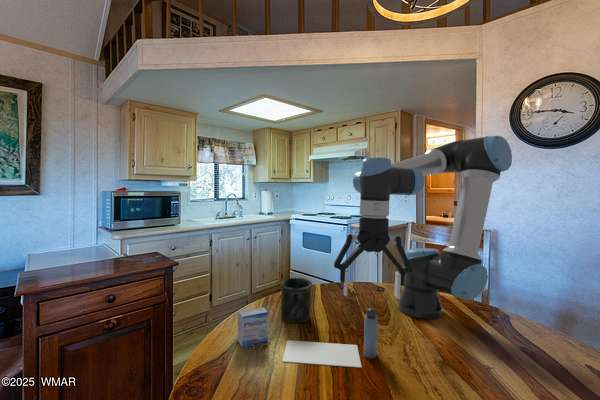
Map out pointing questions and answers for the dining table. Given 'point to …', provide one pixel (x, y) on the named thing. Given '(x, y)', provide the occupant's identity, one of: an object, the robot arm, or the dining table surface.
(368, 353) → the marker
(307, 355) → the paper
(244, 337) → the medicine box
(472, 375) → the dining table surface
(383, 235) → the robot arm
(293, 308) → the mug
